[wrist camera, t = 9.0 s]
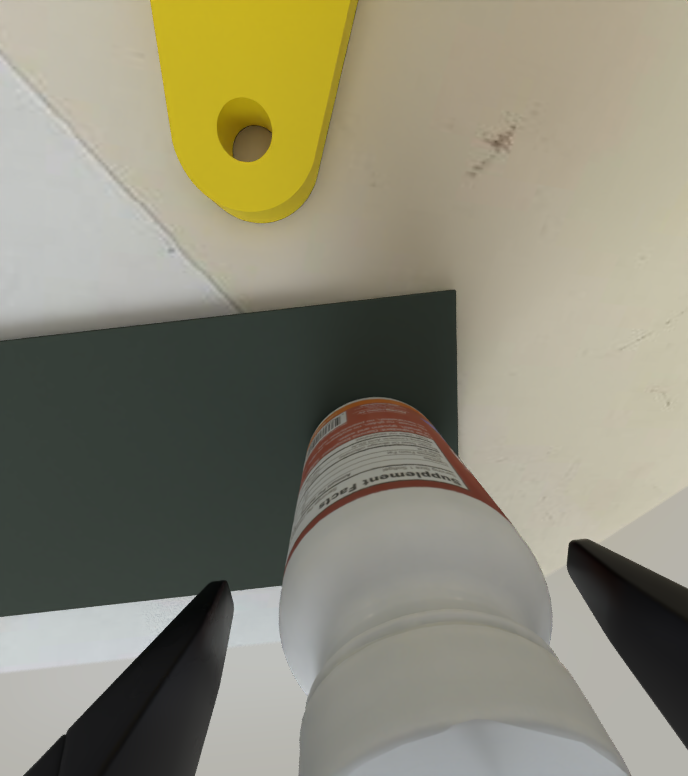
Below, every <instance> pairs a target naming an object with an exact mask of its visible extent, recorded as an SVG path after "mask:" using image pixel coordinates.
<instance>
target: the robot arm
mask: <svg viewBox="0 0 688 776" xmlns="http://www.w3.org/2000/svg"><path fill="white" fill-rule="evenodd" d="M567 570H568V572H569V575H570V577H571V578H572V580H573V582H574V583H575V585H576V587H577V588H578V590H579V592H580V593H581V595H582V596H583V598H584V600H585V601H586V603H587V605H588V607H589V608H590V610H591V611H592V613H593V615H594V616H595V618H596V620H597V621H598V623H599V625H600V626H601V628H602V630H603V631H604V633H605V634H606V636H607V637H608V639H609V641H610V642H611V643H612V645H613V646H614V648H615V649H616V651H617V652H618V654H619V655H620V656H621V658H622V659H623V660H624V662H625V663H626V665H627V666H628V667H629V669H630V670H631V672H632V673H633V674H634V676H635V677H636V678H637V680H638V681H639V683H640V684H641V685H642V687H643V688H644V689H645V691H646V692H647V694H648V695H649V697H650V698H651V699H652V701H653V702H654V704H655V705H656V706H657V707H658V709H659V710H660V712H661V713H662V715H663V716H664V717H665V719H666V720H667V722H668V723H669V724H670V725H671V727H672V728H673V730H674V731H675V732H676V734H677V735H678V737H679V738H680V740H681V741H682V742H683V744H684V745H685V746H686V748H687V749H688V589H687V588H686V587H683V586H681V585H679V584H677V583H675V582H673V581H671V580H669V579H667V578H665V577H663V576H661V575H659V574H657V573H655V572H653V571H651V570H649V569H647V568H645V567H643V566H641V565H639V564H637V563H635V562H633V561H631V560H629V559H627V558H625V557H623V556H621V555H619V554H617V553H615V552H613V551H611V550H609V549H607V548H605V547H603V546H601V545H599V544H597V543H595V542H593V541H591V540H588V539H579V540H572V541H571V542H570V543H569V547H568V557H567ZM233 612H234V604H233V600H232V596H231V592H230V589H229V585H228V582H227V581H226V580H219V581H212V582H210V583H208V584H207V585H206V586H205V587H204V589H203V590H202V591H201V592H200V593H199V594H198V595H197V596H196V597H195V598H194V599H193V600H192V601H191V602H190V603H189V604H188V605H187V606H186V607H185V608H184V609H183V610H182V611H181V612H180V614H179V615H178V616H177V617H176V618H175V619H174V620H173V621H172V622H171V623H170V624H169V625H168V626H167V627H166V628H165V629H164V630H163V631H162V632H161V633H160V634H159V635H158V636H157V637H156V639H155V640H154V641H153V642H152V643H151V644H150V645H149V646H148V647H147V648H146V649H145V650H144V651H143V652H142V653H141V654H140V655H139V656H138V657H137V658H136V659H135V660H134V661H133V662H132V664H131V665H130V666H129V667H128V668H127V669H126V670H125V671H124V672H123V673H122V674H121V675H120V676H119V677H118V678H117V679H116V680H115V681H114V682H113V683H112V684H111V686H110V687H108V689H107V690H106V691H105V692H104V693H103V694H102V695H101V696H100V697H99V698H98V699H97V700H96V701H95V702H94V703H93V704H92V705H91V706H90V707H89V708H88V709H87V710H86V711H85V712H84V714H83V715H82V716H81V717H80V718H79V719H78V720H77V721H76V722H75V723H74V724H73V725H72V726H71V727H70V728H69V730H68V731H67V733H66V735H63V736H61V737H60V738H59V739H58V740H57V741H56V743H55V744H54V745H53V746H52V747H51V748H50V749H49V750H48V751H47V752H46V753H45V754H44V755H43V756H42V757H41V758H40V759H39V760H38V761H37V762H36V763H35V764H34V765H33V766H32V767H31V768H30V769H29V771H27V772H26V773H25V774H24V775H23V776H195V773H196V769H197V766H198V762H199V758H200V755H201V751H202V747H203V744H204V741H205V737H206V734H207V730H208V726H209V723H210V719H211V716H212V712H213V708H214V705H215V701H216V698H217V694H218V690H219V686H220V682H221V676H222V671H223V666H224V661H225V656H226V651H227V645H228V640H229V635H230V629H231V624H232V619H233Z"/></svg>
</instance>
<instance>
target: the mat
mask: <svg viewBox="0 0 688 776" xmlns="http://www.w3.org/2000/svg"><path fill="white" fill-rule="evenodd" d="M369 397H384V398H391V399H395V400H399V401H401V402H404V403H406V404H408V405H410V406H412V407H413V408H415V409H416V410H418V411H419V412H420V413H422V414H423V415H424V416H425V417H426V418H427V419H428V420H429V421H430V423H431V424H432V425H433V426H434V427H435V429H436V430H437V431H438V432H439V434H440V435H441V436H442V438H443V439H444V440H445V441H446V443H447V444H448V445H449V446H450V448H451V449H452V450H453V451H454V453H455V454H456V455H457V456H458V413H457V340H456V290H446V291H438V292H429V293H420V294H411V295H402V296H393V297H384V298H376V299H367V300H358V301H349V302H340V303H331V304H322V305H314V306H305V307H296V308H287V309H278V310H269V311H261V312H252V313H243V314H234V315H225V316H216V317H207V318H199V319H190V320H181V321H172V322H163V323H154V324H145V325H137V326H128V327H119V328H110V329H101V330H92V331H84V332H75V333H66V334H57V335H48V336H39V337H30V338H22V339H13V340H4V341H0V617H4V616H13V615H22V614H31V613H40V612H49V611H58V610H67V609H76V608H85V607H94V606H103V605H111V604H120V603H129V602H138V601H147V600H156V599H165V598H174V597H183V596H192V595H198V594H199V593H200V592H201V591H202V590H203V589H204V587H205V586H206V585H207V584H208V583H210V582H212V581H219V580H226V581H227V582H228V585H229V589H230V591H237V590H246V589H255V588H264V587H273V586H282V583H283V576H284V571H285V564H286V559H287V554H288V549H289V543H290V537H291V532H292V527H293V522H294V516H295V511H296V506H297V501H298V495H299V490H300V485H301V480H302V473H303V468H304V463H305V459H306V454H307V449H308V446H309V443H310V440H311V438H312V436H313V434H314V432H315V430H316V429H317V427H318V426H319V424H320V423H321V422H322V421H323V420H324V419H325V418H326V417H327V416H328V415H329V414H330V413H332V412H333V411H334V410H336V409H337V408H339V407H341V406H343V405H345V404H347V403H349V402H352V401H355V400H358V399H363V398H369Z"/></svg>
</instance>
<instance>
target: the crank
mask: <svg viewBox="0 0 688 776" xmlns="http://www.w3.org/2000/svg"><path fill="white" fill-rule="evenodd" d="M150 2H151V8H152V15H153V21H154V28H155V34H156V40H157V47H158V53H159V60H160V66H161V72H162V79H163V85H164V91H165V98H166V104H167V111H168V117H169V123H170V130H171V136H172V142H173V145H174V149H175V152H176V154H177V157H178V159H179V161H180V163H181V165H182V167H183V169H184V171H185V172H186V174H187V175H188V177H189V178H190V179H191V181H192V182H193V183H194V184H195V185H196V187H197V188H198V189H199V190H201V191H202V192H203V193H204V194H205V195H206V196H207V197H209V198H210V199H211V200H212V201H214V202H215V203H216V204H217V205H218V206H220V207H221V208H222V209H224V210H225V211H226V212H228V213H229V214H231V215H233V216H235V217H237V218H239V219H242V220H244V221H248V222H254V223H269V222H274V221H278V220H281V219H283V218H285V217H287V216H289V215H291V214H292V213H294V212H295V211H296V210H297V209H298V208H299V207H300V206H301V205H302V204H303V203H304V202H305V201H306V199H307V198H308V196H309V195H310V193H311V191H312V189H313V187H314V185H315V182H316V179H317V175H318V171H319V166H320V162H321V158H322V153H323V149H324V145H325V141H326V136H327V132H328V128H329V123H330V119H331V115H332V110H333V106H334V102H335V98H336V93H337V89H338V85H339V80H340V76H341V72H342V67H343V63H344V59H345V55H346V50H347V46H348V42H349V37H350V33H351V29H352V24H353V20H354V16H355V12H356V7H357V3H358V0H150ZM250 125H259V126H262V127H265V128H266V129H268V130H269V131H270V132H271V133H272V140H271V144H270V146H269V149H268V150H267V152H266V153H265V154H264V155H263V156H262V157H261V158H259V159H258V160H256V161H253V162H242V161H238V160H236V159H234V158H233V152H232V149H233V142H234V139H235V137H236V135H237V134H238V133H239V132H240V131H241V130H242V129H243V128H245V127H247V126H250Z"/></svg>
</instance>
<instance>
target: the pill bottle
mask: <svg viewBox="0 0 688 776" xmlns="http://www.w3.org/2000/svg"><path fill="white" fill-rule="evenodd" d="M279 630H280V638H281V643H282V648H283V651H284V654H285V657H286V660H287V663H288V665H289V667H290V669H291V671H292V674H293V675H294V677H295V679H296V681H297V682H298V684H299V686H300V687H301V688H302V690H303V691H304V692H305V694H306V695H307V696H308V698H307V702H306V710H305V713H304V716H303V719H302V725H301V730H300V758H299V776H631V774H630V772H629V770H628V768H627V766H626V764H625V762H624V760H623V758H622V757H621V755H620V753H619V752H618V750H617V748H616V747H615V745H614V743H613V742H612V740H611V739H610V737H609V735H608V734H607V732H606V730H605V729H604V727H603V725H602V724H601V722H600V720H599V719H598V717H597V715H596V713H595V712H594V710H593V709H592V707H591V705H590V704H589V702H588V700H587V699H586V697H585V696H584V694H583V693H582V691H581V689H580V688H579V686H578V685H577V683H576V681H575V680H574V679H573V677H572V676H571V674H570V673H569V671H568V670H567V669H566V668H565V667H564V665H563V664H562V663H561V662H560V661H559V659H558V657H557V656H556V654H555V653H554V651H553V650H552V649H551V648H550V646H549V644H550V640H551V632H552V607H551V599H550V595H549V591H548V587H547V583H546V581H545V578H544V576H543V573H542V571H541V569H540V566H539V564H538V562H537V560H536V558H535V556H534V554H533V553H532V551H531V549H530V548H529V546H528V545H527V544H526V542H525V541H524V540H523V538H522V537H521V536H520V534H519V533H518V531H517V530H516V529H515V527H514V526H513V525H512V523H511V522H510V521H509V520H508V518H507V517H506V516H505V515H504V513H503V512H502V511H501V510H500V508H499V507H498V506H497V505H496V503H495V502H494V501H493V500H492V498H491V497H490V496H489V495H488V493H487V492H486V491H485V490H484V488H483V487H482V486H481V485H480V483H479V482H478V481H477V479H476V478H475V477H474V476H473V475H472V473H471V472H470V471H469V470H468V469H467V468H466V466H465V465H464V464H463V463H462V461H461V460H460V458H459V457H458V456H457V455H456V454H455V453H454V451H453V450H452V449H451V448H450V446H449V445H448V444H447V443H446V441H445V440H444V439H443V438H442V436H441V435H440V434H439V432H438V431H437V430H436V429H435V427H434V426H433V425H432V424H431V423H430V421H429V420H428V419H427V418H426V417H425V416H424V415H423V414H422V413H420V412H419V411H418V410H416V409H415V408H413V407H412V406H410V405H408V404H406V403H404V402H401V401H399V400H395V399H391V398H384V397H369V398H363V399H358V400H355V401H352V402H349V403H347V404H345V405H343V406H341V407H339V408H337V409H336V410H334V411H333V412H332V413H330V414H329V415H328V416H327V417H326V418H325V419H324V420H323V421H322V422H321V423H320V424H319V426H318V427H317V429H316V430H315V432H314V434H313V436H312V438H311V440H310V443H309V446H308V449H307V454H306V459H305V463H304V468H303V473H302V480H301V485H300V490H299V495H298V501H297V506H296V511H295V516H294V522H293V527H292V532H291V537H290V543H289V549H288V554H287V559H286V564H285V571H284V576H283V583H282V591H281V597H280V605H279Z"/></svg>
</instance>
